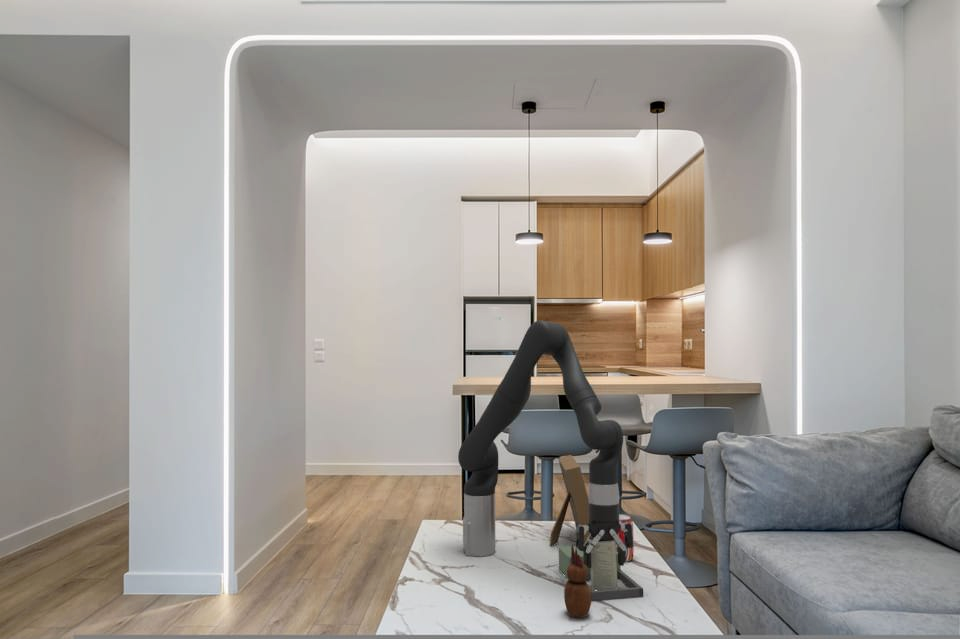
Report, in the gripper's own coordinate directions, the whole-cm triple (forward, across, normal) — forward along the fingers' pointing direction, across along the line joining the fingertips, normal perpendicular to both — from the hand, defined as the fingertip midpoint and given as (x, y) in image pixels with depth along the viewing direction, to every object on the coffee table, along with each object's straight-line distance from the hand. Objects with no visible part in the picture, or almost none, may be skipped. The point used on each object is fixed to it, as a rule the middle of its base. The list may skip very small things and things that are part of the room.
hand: (604, 566), depth 167 cm
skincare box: (+6, 0, 0) cm, 6 cm away
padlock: (+6, 0, -5) cm, 7 cm away
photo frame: (+6, -5, -41) cm, 42 cm away
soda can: (+6, -13, -21) cm, 25 cm away
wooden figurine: (+6, +12, +14) cm, 19 cm away
